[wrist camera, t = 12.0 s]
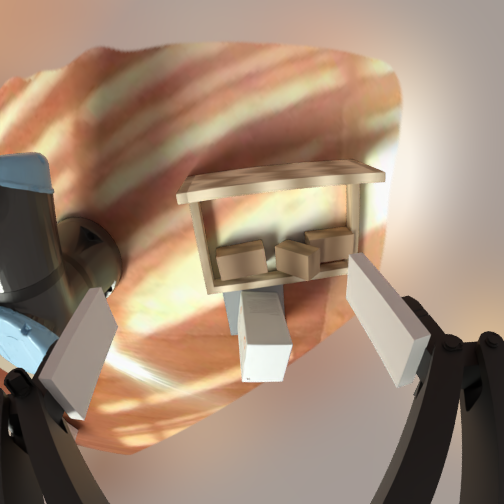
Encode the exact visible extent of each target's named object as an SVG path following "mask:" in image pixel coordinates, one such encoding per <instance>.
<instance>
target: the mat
mask: <svg viewBox="0 0 504 504" xmlns="http://www.w3.org/2000/svg"><path fill="white" fill-rule="evenodd" d="M241 291H249V292H276V293H278V297H279V300H280V303H281V307H282V310H283V313H284V317H285V312H284V294H283V284H282V285H275V286H268V287H261V288H254V289H246V290H239V291H231V292H224V293H223V296H224V301H225V307H226V312H227V317H228V322H229V326H230V331H231V335H237V334H238V329H237V325H238V314H239V304H240V295H241Z"/></svg>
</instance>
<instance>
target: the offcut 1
mask: <svg viewBox="0 0 504 504" xmlns="http://www.w3.org/2000/svg"><path fill="white" fill-rule="evenodd" d="M216 260H217V264H218V268H219V272H220V276H221V280H222V281H225V280H231V279H236V278H242V277H247V276H252V275H258V274H263V273H268V270H267V264H266V257H265V251H264V247H263V243H262V240H257V241H251V242H246V243H240V244H235V245H230V246H224V247H219V248H216Z"/></svg>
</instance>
